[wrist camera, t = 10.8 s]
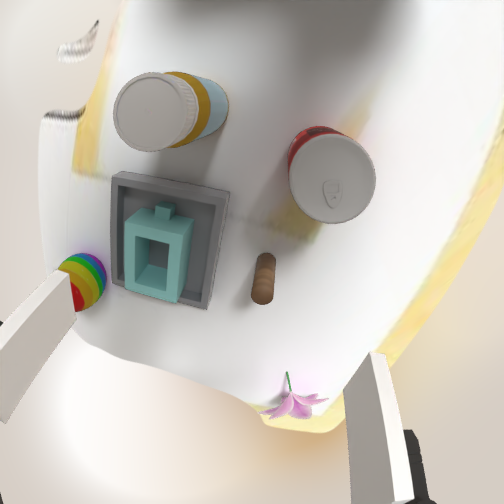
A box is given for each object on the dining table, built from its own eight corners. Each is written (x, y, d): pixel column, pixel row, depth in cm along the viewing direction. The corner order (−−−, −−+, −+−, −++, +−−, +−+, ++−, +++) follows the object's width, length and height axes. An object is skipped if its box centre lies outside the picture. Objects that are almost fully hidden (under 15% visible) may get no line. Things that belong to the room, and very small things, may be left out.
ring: (139, 270, 43) (124, 288, 39) (142, 196, 38) (125, 210, 34) (186, 282, 43) (176, 303, 39) (196, 208, 38) (184, 223, 34)
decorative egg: (65, 255, 45) (30, 286, 36) (95, 239, 43) (59, 273, 34) (89, 294, 48) (60, 329, 39) (121, 283, 46) (92, 321, 37)
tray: (122, 171, 37) (111, 176, 35) (230, 192, 37) (226, 199, 35) (120, 273, 45) (112, 283, 43) (210, 298, 45) (206, 309, 43)
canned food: (301, 199, 37) (307, 236, 27) (276, 138, 34) (273, 153, 24) (359, 178, 35) (386, 208, 25) (337, 116, 32) (360, 122, 22)
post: (259, 251, 41) (253, 284, 34) (277, 255, 41) (275, 289, 34) (255, 266, 42) (249, 301, 35) (273, 271, 42) (270, 306, 35)
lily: (250, 385, 56) (259, 432, 50) (260, 369, 47) (271, 426, 41) (308, 376, 58) (318, 420, 53) (328, 358, 49) (342, 410, 43)
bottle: (237, 125, 34) (205, 140, 20) (182, 142, 35) (124, 169, 22) (220, 71, 31) (177, 52, 17) (165, 91, 32) (98, 90, 19)
